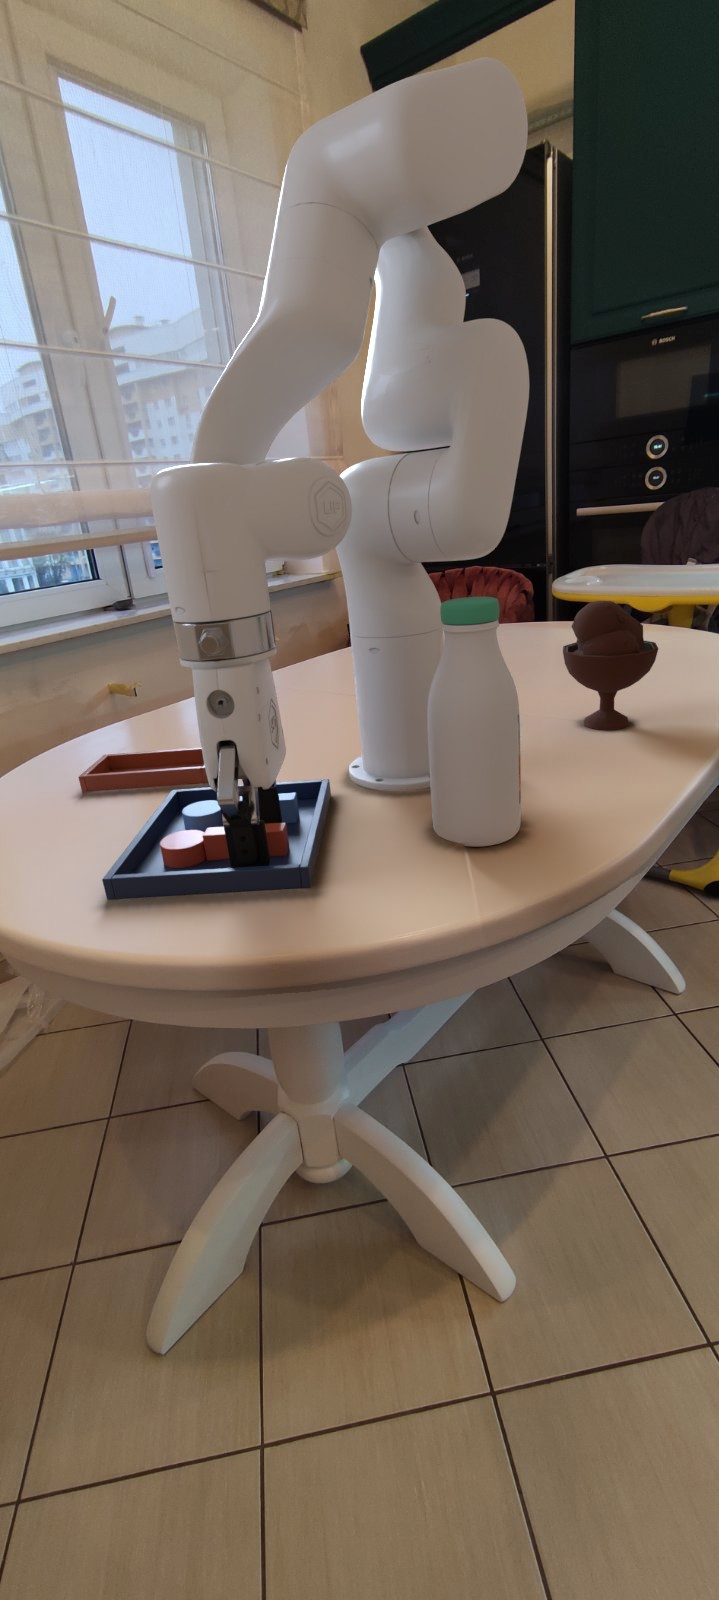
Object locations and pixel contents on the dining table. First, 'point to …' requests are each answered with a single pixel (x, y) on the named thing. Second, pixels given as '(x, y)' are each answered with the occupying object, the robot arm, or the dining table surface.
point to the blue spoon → (210, 814)
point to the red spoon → (214, 845)
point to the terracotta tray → (145, 770)
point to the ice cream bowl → (608, 657)
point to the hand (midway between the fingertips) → (258, 846)
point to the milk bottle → (473, 730)
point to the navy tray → (150, 877)
